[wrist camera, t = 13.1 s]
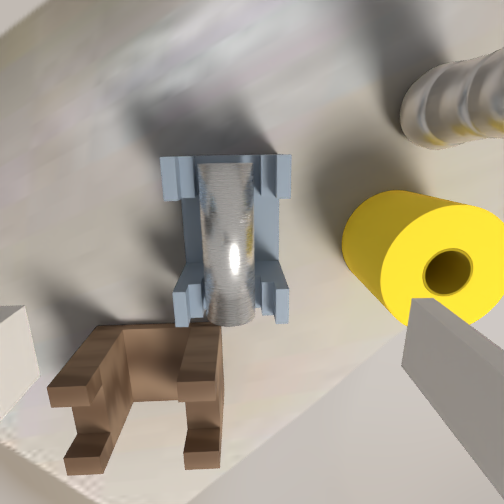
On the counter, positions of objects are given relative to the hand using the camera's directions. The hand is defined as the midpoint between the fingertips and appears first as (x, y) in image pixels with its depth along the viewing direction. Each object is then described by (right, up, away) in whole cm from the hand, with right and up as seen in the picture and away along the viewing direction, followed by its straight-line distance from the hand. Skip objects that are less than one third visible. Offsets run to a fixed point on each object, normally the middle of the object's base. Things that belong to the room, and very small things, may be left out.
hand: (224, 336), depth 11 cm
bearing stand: (-9, -9, +25) cm, 28 cm away
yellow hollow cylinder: (+15, +4, +22) cm, 27 cm away
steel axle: (-1, +4, +16) cm, 16 cm away
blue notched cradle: (-1, +6, +21) cm, 21 cm away
